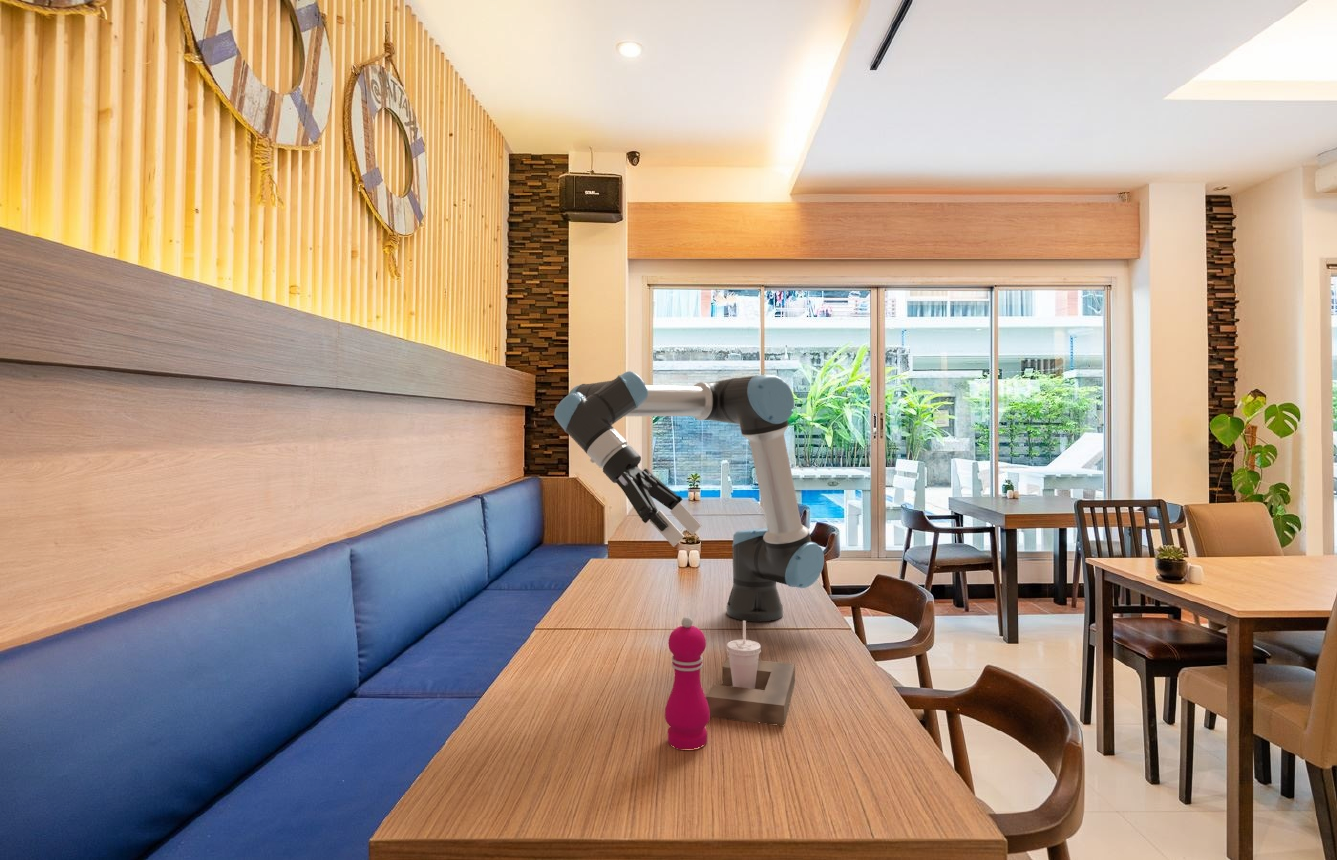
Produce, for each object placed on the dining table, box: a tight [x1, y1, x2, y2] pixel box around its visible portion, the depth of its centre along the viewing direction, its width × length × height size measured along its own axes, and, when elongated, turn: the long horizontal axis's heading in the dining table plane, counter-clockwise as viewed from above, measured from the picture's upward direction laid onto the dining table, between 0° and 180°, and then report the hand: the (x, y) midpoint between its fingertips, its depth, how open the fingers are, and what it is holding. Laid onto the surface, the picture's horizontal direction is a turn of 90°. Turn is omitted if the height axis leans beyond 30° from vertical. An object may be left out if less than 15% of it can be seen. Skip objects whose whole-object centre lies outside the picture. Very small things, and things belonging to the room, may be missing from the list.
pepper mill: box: [664, 616, 711, 750], centre depth 102 cm, size 7×7×20 cm
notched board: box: [705, 656, 796, 726], centre depth 119 cm, size 14×20×4 cm
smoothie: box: [726, 620, 762, 689], centre depth 120 cm, size 6×6×14 cm
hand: (688, 535), depth 123 cm, fingers open, 13 cm apart
